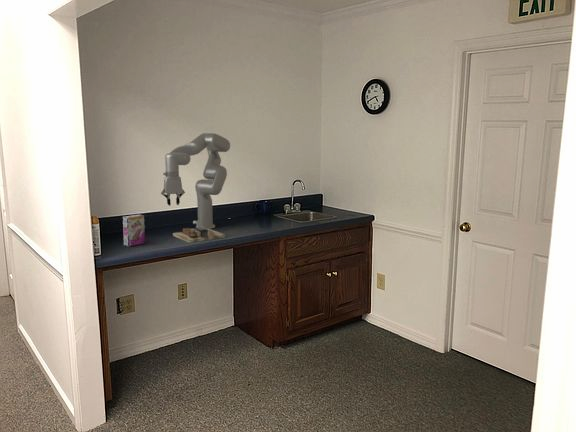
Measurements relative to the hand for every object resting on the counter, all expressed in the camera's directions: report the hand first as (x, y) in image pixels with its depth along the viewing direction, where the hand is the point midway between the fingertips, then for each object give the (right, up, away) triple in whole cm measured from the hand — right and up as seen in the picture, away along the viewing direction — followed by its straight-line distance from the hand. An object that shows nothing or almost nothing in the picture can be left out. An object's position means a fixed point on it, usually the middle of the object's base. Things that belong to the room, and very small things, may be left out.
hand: (173, 204), depth 295 cm
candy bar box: (-18, -23, -17) cm, 34 cm away
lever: (+10, -18, 0) cm, 20 cm away
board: (+15, -19, +4) cm, 24 cm away
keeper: (+17, -19, -3) cm, 26 cm away
